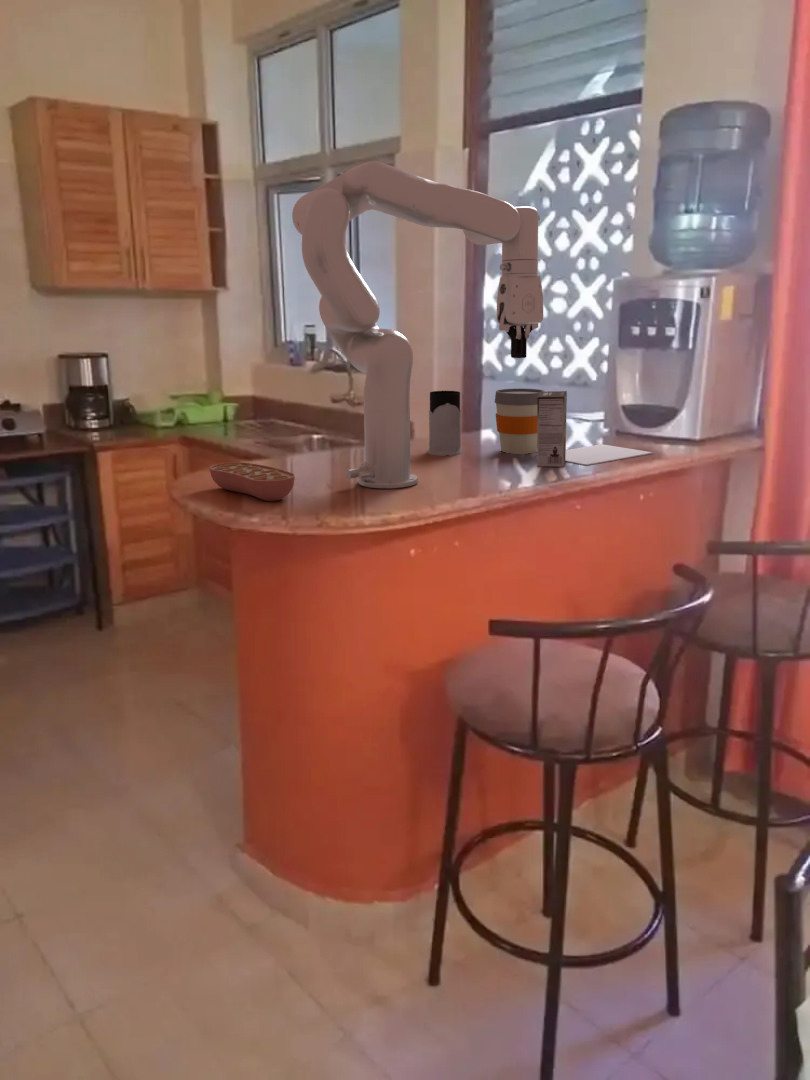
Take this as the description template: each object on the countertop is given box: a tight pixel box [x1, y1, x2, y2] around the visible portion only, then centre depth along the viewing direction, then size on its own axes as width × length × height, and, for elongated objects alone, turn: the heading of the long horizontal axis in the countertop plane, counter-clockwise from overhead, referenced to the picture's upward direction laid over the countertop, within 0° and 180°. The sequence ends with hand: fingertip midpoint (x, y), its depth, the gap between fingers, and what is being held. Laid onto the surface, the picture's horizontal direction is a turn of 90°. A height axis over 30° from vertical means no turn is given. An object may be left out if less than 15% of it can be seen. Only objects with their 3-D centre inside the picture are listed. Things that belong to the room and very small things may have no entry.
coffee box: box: [536, 390, 568, 468], centre depth 201 cm, size 9×6×16 cm
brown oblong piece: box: [209, 462, 296, 502], centre depth 175 cm, size 23×10×5 cm, turn 43°
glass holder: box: [427, 390, 463, 457], centre depth 220 cm, size 9×14×15 cm, turn 7°
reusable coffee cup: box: [494, 388, 546, 455], centre depth 218 cm, size 13×13×15 cm
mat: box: [535, 443, 653, 466], centre depth 213 cm, size 24×16×1 cm, turn 127°
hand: (518, 357), depth 190 cm, fingers closed
